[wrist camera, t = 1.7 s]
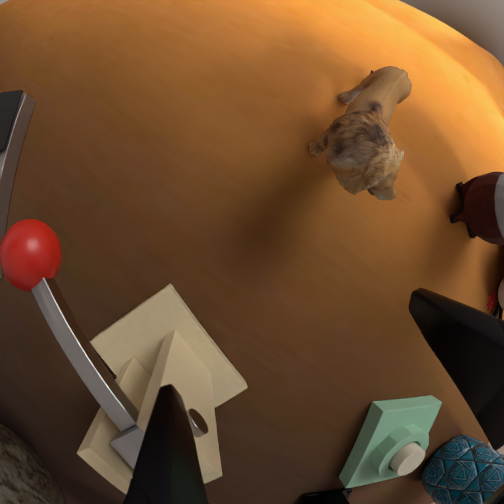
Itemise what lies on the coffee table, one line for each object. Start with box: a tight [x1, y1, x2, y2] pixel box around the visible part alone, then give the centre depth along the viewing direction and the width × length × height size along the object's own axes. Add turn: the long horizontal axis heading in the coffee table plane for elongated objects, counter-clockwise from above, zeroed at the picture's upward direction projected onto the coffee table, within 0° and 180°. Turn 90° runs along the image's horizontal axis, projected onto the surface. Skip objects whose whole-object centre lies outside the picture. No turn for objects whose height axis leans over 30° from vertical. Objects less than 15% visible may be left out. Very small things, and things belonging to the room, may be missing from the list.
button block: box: [339, 395, 442, 488], centre depth 24 cm, size 11×9×4 cm
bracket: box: [77, 284, 248, 494], centre depth 16 cm, size 10×8×12 cm
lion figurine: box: [309, 66, 412, 200], centre depth 19 cm, size 15×5×9 cm, turn 155°
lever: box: [0, 219, 145, 469], centre depth 12 cm, size 14×4×4 cm, turn 34°
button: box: [390, 442, 425, 476], centre depth 21 cm, size 4×4×2 cm
